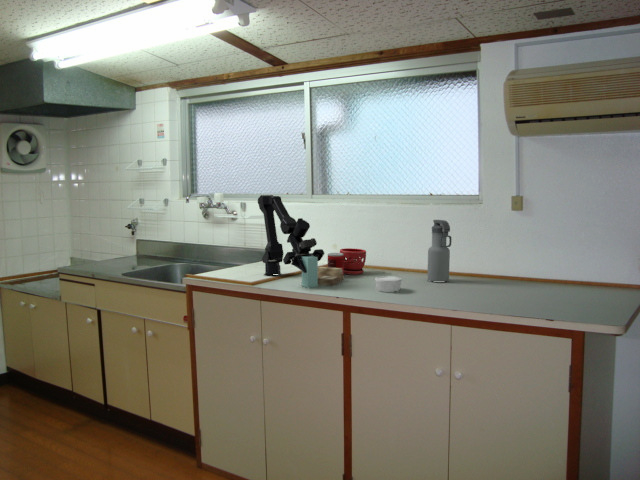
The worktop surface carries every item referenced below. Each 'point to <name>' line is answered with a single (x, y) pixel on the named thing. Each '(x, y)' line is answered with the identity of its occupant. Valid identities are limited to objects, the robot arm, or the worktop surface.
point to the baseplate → (329, 279)
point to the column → (310, 271)
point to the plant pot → (353, 260)
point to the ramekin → (388, 283)
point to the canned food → (336, 261)
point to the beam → (329, 271)
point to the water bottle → (439, 252)
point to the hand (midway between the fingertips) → (311, 271)
